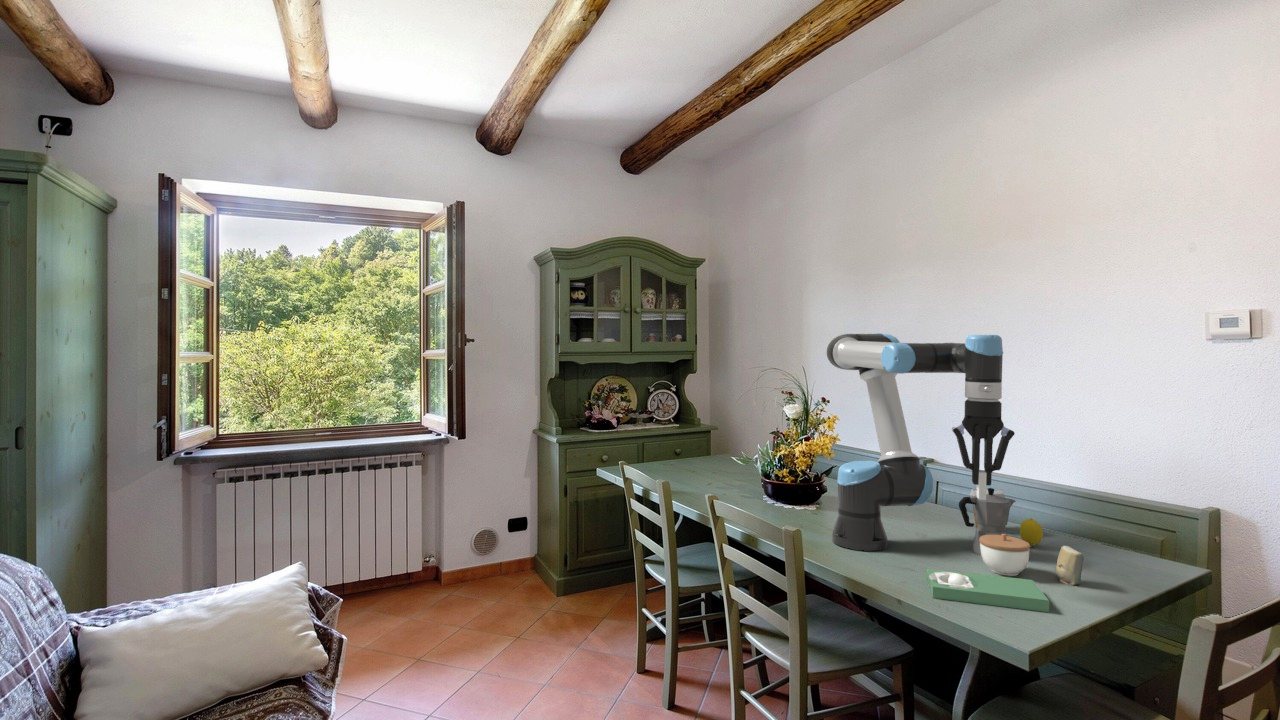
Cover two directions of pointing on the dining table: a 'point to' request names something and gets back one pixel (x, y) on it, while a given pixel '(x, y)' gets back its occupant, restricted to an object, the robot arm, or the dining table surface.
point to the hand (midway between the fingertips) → (981, 498)
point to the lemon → (1031, 531)
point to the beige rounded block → (1069, 566)
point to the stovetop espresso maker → (996, 492)
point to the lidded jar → (1004, 554)
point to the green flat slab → (988, 590)
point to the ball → (957, 579)
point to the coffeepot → (987, 515)
